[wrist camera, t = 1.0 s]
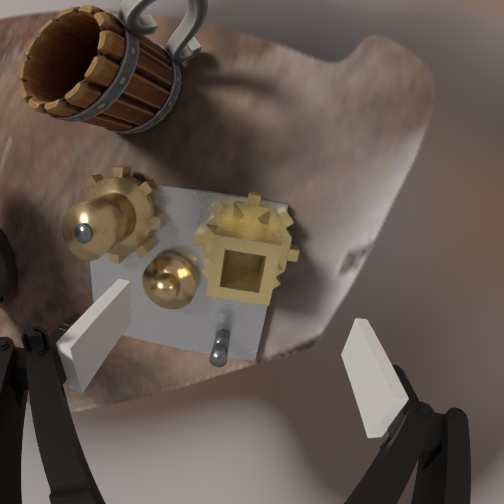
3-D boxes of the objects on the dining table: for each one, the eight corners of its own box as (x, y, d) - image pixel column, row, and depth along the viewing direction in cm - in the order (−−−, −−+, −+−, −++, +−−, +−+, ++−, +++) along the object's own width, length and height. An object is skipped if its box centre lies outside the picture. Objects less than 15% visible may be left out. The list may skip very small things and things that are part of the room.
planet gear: (192, 278, 32) (174, 316, 24) (203, 184, 28) (183, 195, 21) (285, 293, 32) (292, 335, 25) (306, 201, 29) (322, 218, 21)
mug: (121, 153, 29) (31, 161, 14) (86, 84, 26) (-2, 63, 12) (244, 76, 26) (231, 11, 12) (198, 9, 23) (160, -68, 9)
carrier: (96, 322, 36) (62, 362, 27) (92, 162, 29) (40, 170, 20) (255, 355, 37) (253, 410, 27) (290, 187, 30) (304, 202, 20)
